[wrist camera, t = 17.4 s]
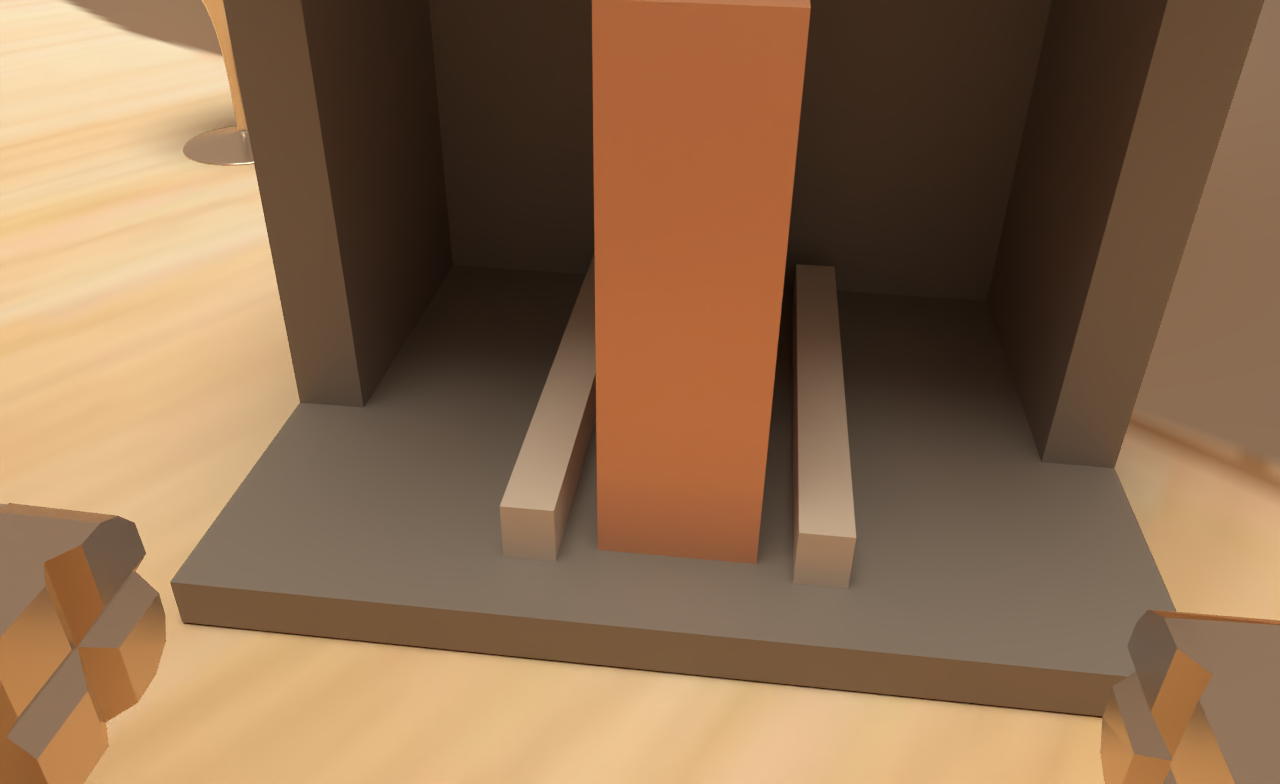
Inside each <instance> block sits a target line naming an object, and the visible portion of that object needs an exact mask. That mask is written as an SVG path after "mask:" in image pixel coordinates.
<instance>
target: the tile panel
mask: <svg viewBox="0 0 1280 784" xmlns="http://www.w3.org/2000/svg"><path fill="white" fill-rule="evenodd" d="M810 10H811V5H810V0H592V58H593V153H594V248H595V343H596V438H597V533H598V550H606V551H617V552H628V553H639V554H650V555H661V556H673V557H684V558H695V559H706V560H717V561H728V562H740V563H751V564H756V563H757V553H758V542H759V532H760V522H761V512H762V502H763V491H764V481H765V471H766V461H767V450H768V440H769V430H770V420H771V409H772V399H773V389H774V379H775V368H776V358H777V348H778V338H779V328H780V317H781V307H782V297H783V287H784V276H785V266H786V256H787V246H788V235H789V225H790V215H791V205H792V195H793V184H794V174H795V164H796V154H797V143H798V133H799V123H800V113H801V102H802V92H803V82H804V72H805V61H806V51H807V41H808V31H809V21H810Z"/></svg>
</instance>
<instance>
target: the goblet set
mask: <svg viewBox="0 0 1280 784" xmlns="http://www.w3.org/2000/svg"><path fill="white" fill-rule="evenodd" d="M202 2H203V4H204V5H205V7H206V9H207V11H208V13H209V16H210V18H211V20H212V23H213V25H214V28H215V31H216V33H217V37H218V40H219V44H220V47H221V50H222V55H223V59H224V63H225V67H226V71H227V76H228V81H229V86H230V91H231V96H232V101H233V107H234V113H235V118H236V125H237V126H231V127H226V128H221V129H216V130H213V131H209V132H206V133H203V134H201V135H198V136H196V137H194V138H193V139H191V140H190V141H188V142H187V143H186V144H185V146H184V148H183V153H184V155H185V156H186V157H187V158H189V159H191V160H193V161H196V162H199V163H203V164H209V165H221V166H237V165H250V164H254V160H253V154H252V149H251V144H250V139H249V134H248V128H247V123H246V118H245V113H244V108H243V103H242V97H241V92H240V87H239V82H238V77H237V71H236V66H235V61H234V56H233V51H232V45H231V40H230V35H229V30H228V25H227V19H226V14H225V9H224V4H223V0H202Z"/></svg>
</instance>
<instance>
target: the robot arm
mask: <svg viewBox="0 0 1280 784" xmlns="http://www.w3.org/2000/svg"><path fill="white" fill-rule="evenodd" d="M145 554H146V552H145V549H144V547H143V544H142V541H141V539H140V536H139V533H138V531H137V528H136V525H135V523H134V522H131V521H129V520H126V519H124V518H122V517H119V516H115V515H106V514H98V513H89V512H80V511H72V510H63V509H55V508H46V507H37V506H29V505H20V504H12V503H9V504H7V505H6V504H0V784H83V783H84V782H85V780H86V779H87V778H88V776H89V775H90V773H91V772H92V770H93V769H94V767H95V766H96V764H97V763H98V761H99V760H100V758H101V757H102V755H103V754H104V752H105V751H106V749H107V748H108V746H109V744H108V736H107V728H106V722H107V721H109V720H110V719H112V718H113V717H115V716H117V715H118V714H120V713H122V712H123V711H125V710H126V709H128V708H130V707H131V706H133V705H135V704H136V703H138V702H139V700H140V698H141V697H142V695H143V694H144V692H145V691H146V689H147V687H148V686H149V684H150V683H151V681H152V680H153V678H154V676H155V675H156V672H157V669H158V665H159V662H160V658H161V655H162V652H163V648H164V645H165V641H166V633H165V613H164V609H163V606H162V603H161V599H160V596H159V593H158V592H157V591H156V590H155V589H154V588H153V587H151V586H150V585H149V584H148V583H147V582H146V581H145V580H144V579H143V578H142V577H141V576H140V575H139V574H137V573H136V572H135V571H136V569H137V568H138V566H139V564H140V563H141V561H142V559H143V558H144V556H145ZM1127 647H1128V650H1129V653H1130V656H1131V659H1132V661H1133V664H1134V667H1135V670H1136V672H1134V673H1133V674H1131V675H1130V676H1128V677H1127V678H1125V679H1124V680H1122V681H1120V682H1119V683H1117V684H1116V685H1114V686H1113V687H1112V689H1111V692H1110V695H1109V699H1108V702H1107V705H1106V708H1105V711H1104V714H1103V718H1102V735H1101V759H1102V766H1103V774H1104V780H1105V784H1280V621H1277V620H1265V619H1254V618H1242V617H1230V616H1218V615H1206V614H1194V613H1182V612H1170V611H1158V610H1147V611H1146V612H1145V613H1144V615H1143V616H1142V617H1141V618H1140V619H1139V620H1138V621H1137V622H1136V625H1135V627H1134V630H1133V632H1132V635H1131V638H1130V640H1129V643H1128V645H1127Z"/></svg>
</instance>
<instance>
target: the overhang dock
mask: <svg viewBox="0 0 1280 784" xmlns="http://www.w3.org/2000/svg"><path fill="white" fill-rule="evenodd" d="M1263 3H1264V0H810V5H811V10H810V21H809V31H808V41H807V51H806V61H805V72H804V82H803V92H802V102H801V113H800V123H799V133H798V143H797V154H796V164H795V174H794V184H793V195H792V205H791V215H790V225H789V235H788V246H787V256H786V266H785V276H784V287H783V297H782V307H781V317H780V328H779V338H778V348H777V358H776V368H775V379H774V389H773V399H772V409H771V420H770V430H769V440H768V450H767V461H766V471H765V481H764V491H763V502H762V512H761V522H760V532H759V542H758V553H757V563H756V564H751V563H740V562H728V561H717V560H706V559H695V558H684V557H673V556H661V555H650V554H639V553H628V552H617V551H606V550H598V533H597V438H596V343H595V248H594V153H593V58H592V0H223V4H224V9H225V14H226V19H227V25H228V30H229V35H230V40H231V45H232V51H233V56H234V61H235V66H236V71H237V77H238V82H239V87H240V92H241V97H242V103H243V108H244V113H245V118H246V123H247V128H248V134H249V139H250V144H251V149H252V154H253V160H254V165H255V170H256V175H257V180H258V186H259V191H260V196H261V201H262V206H263V212H264V217H265V222H266V227H267V232H268V238H269V243H270V248H271V253H272V258H273V264H274V269H275V274H276V279H277V284H278V290H279V295H280V300H281V305H282V310H283V316H284V321H285V326H286V331H287V336H288V342H289V347H290V352H291V357H292V362H293V367H294V373H295V378H296V383H297V388H298V393H299V399H300V404H299V405H298V406H297V408H296V409H295V410H294V412H293V413H292V415H291V416H290V417H289V419H288V420H287V422H286V423H285V424H284V426H283V427H282V428H281V430H280V431H279V433H278V434H277V435H276V437H275V438H274V439H273V441H272V442H271V444H270V445H269V446H268V448H267V449H266V451H265V452H264V453H263V455H262V456H261V457H260V459H259V460H258V462H257V463H256V464H255V466H254V467H253V468H252V470H251V471H250V473H249V474H248V475H247V477H246V478H245V480H244V481H243V482H242V484H241V485H240V486H239V488H238V489H237V491H236V492H235V493H234V495H233V496H232V497H231V499H230V500H229V502H228V503H227V504H226V506H225V507H224V509H223V510H222V511H221V513H220V514H219V515H218V517H217V518H216V520H215V521H214V522H213V524H212V525H211V526H210V528H209V529H208V531H207V532H206V533H205V535H204V536H203V538H202V539H201V540H200V542H199V543H198V544H197V546H196V547H195V549H194V550H193V551H192V553H191V554H190V555H189V557H188V558H187V560H186V561H185V562H184V564H183V565H182V567H181V568H180V569H179V571H178V572H177V573H176V575H175V576H174V578H173V579H172V580H171V582H170V583H171V586H172V590H173V593H174V596H175V600H176V603H177V606H178V609H179V613H180V616H181V619H182V622H186V623H195V624H205V625H215V626H225V627H235V628H244V629H254V630H264V631H274V632H283V633H293V634H303V635H313V636H322V637H332V638H342V639H352V640H362V641H371V642H381V643H391V644H401V645H410V646H420V647H430V648H440V649H449V650H459V651H469V652H479V653H489V654H498V655H508V656H518V657H528V658H537V659H547V660H557V661H567V662H576V663H586V664H596V665H606V666H616V667H625V668H635V669H645V670H655V671H664V672H674V673H684V674H694V675H703V676H713V677H723V678H733V679H743V680H752V681H762V682H772V683H782V684H791V685H801V686H811V687H821V688H830V689H840V690H850V691H860V692H870V693H879V694H889V695H899V696H909V697H918V698H928V699H938V700H948V701H957V702H967V703H977V704H987V705H997V706H1006V707H1016V708H1026V709H1036V710H1045V711H1055V712H1065V713H1075V714H1084V715H1094V716H1103V714H1104V711H1105V708H1106V705H1107V702H1108V699H1109V695H1110V692H1111V689H1112V687H1113V686H1114V685H1116V684H1117V683H1119V682H1120V681H1122V680H1124V679H1125V678H1127V677H1128V676H1130V675H1131V674H1133V673H1134V672H1136V670H1135V667H1134V664H1133V661H1132V659H1131V656H1130V653H1129V650H1128V647H1127V645H1128V643H1129V640H1130V638H1131V635H1132V632H1133V630H1134V627H1135V625H1136V622H1137V621H1138V620H1139V619H1140V618H1141V617H1142V616H1143V615H1144V613H1145V612H1146V611H1147V610H1158V611H1170V612H1176V609H1175V607H1174V605H1173V603H1172V600H1171V598H1170V596H1169V593H1168V591H1167V589H1166V586H1165V584H1164V582H1163V580H1162V577H1161V575H1160V573H1159V570H1158V568H1157V566H1156V563H1155V561H1154V559H1153V556H1152V554H1151V552H1150V550H1149V547H1148V545H1147V543H1146V540H1145V538H1144V536H1143V533H1142V531H1141V529H1140V527H1139V524H1138V522H1137V520H1136V517H1135V515H1134V513H1133V510H1132V508H1131V506H1130V504H1129V501H1128V499H1127V497H1126V494H1125V492H1124V490H1123V487H1122V485H1121V483H1120V481H1119V478H1118V476H1117V474H1116V471H1115V469H1114V467H1115V464H1116V461H1117V458H1118V455H1119V451H1120V448H1121V445H1122V442H1123V439H1124V436H1125V433H1126V430H1127V427H1128V423H1129V420H1130V417H1131V414H1132V411H1133V408H1134V405H1135V401H1136V398H1137V395H1138V392H1139V389H1140V386H1141V383H1142V380H1143V377H1144V373H1145V370H1146V367H1147V364H1148V361H1149V358H1150V355H1151V352H1152V348H1153V345H1154V342H1155V339H1156V336H1157V333H1158V330H1159V327H1160V323H1161V321H1162V317H1163V314H1164V311H1165V308H1166V304H1167V302H1168V299H1169V295H1170V293H1171V289H1172V286H1173V283H1174V280H1175V277H1176V274H1177V270H1178V268H1179V264H1180V261H1181V258H1182V255H1183V252H1184V249H1185V246H1186V242H1187V239H1188V236H1189V233H1190V230H1191V227H1192V224H1193V221H1194V217H1195V214H1196V211H1197V208H1198V205H1199V202H1200V199H1201V196H1202V193H1203V189H1204V186H1205V183H1206V180H1207V177H1208V174H1209V171H1210V168H1211V165H1212V162H1213V159H1214V155H1215V152H1216V149H1217V146H1218V143H1219V140H1220V137H1221V133H1222V130H1223V127H1224V124H1225V121H1226V118H1227V115H1228V112H1229V109H1230V106H1231V102H1232V99H1233V96H1234V93H1235V90H1236V87H1237V84H1238V81H1239V77H1240V74H1241V71H1242V68H1243V65H1244V62H1245V59H1246V56H1247V52H1248V50H1249V46H1250V43H1251V40H1252V37H1253V34H1254V30H1255V28H1256V24H1257V21H1258V18H1259V15H1260V12H1261V9H1262V6H1263Z"/></svg>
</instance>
